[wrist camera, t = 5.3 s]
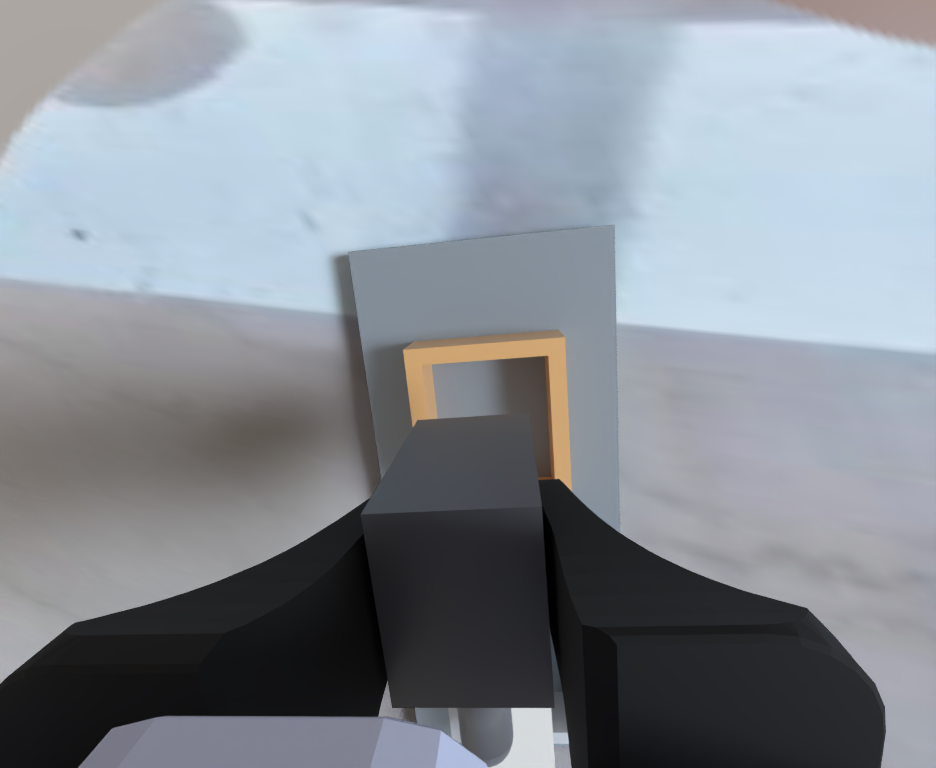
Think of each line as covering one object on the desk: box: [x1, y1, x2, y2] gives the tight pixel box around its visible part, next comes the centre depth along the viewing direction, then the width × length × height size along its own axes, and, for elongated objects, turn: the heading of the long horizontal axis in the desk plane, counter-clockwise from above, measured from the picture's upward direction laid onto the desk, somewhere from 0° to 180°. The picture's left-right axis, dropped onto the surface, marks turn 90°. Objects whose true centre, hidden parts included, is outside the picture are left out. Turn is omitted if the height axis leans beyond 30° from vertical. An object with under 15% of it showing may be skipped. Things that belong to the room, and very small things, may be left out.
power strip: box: [348, 225, 620, 768], centre depth 18 cm, size 24×10×6 cm, turn 5°
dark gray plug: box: [361, 413, 555, 767], centre depth 11 cm, size 7×3×5 cm, turn 5°
